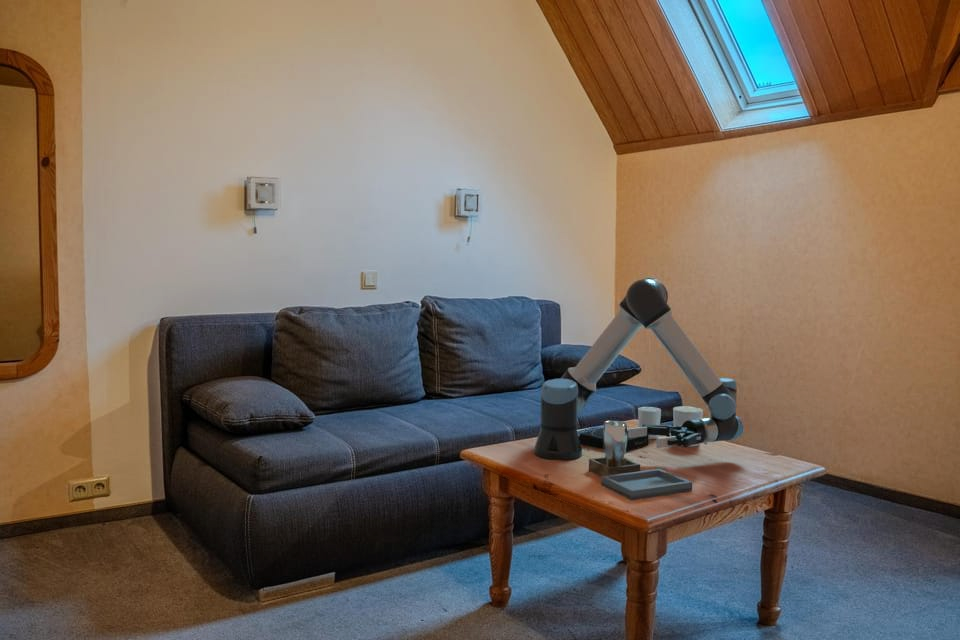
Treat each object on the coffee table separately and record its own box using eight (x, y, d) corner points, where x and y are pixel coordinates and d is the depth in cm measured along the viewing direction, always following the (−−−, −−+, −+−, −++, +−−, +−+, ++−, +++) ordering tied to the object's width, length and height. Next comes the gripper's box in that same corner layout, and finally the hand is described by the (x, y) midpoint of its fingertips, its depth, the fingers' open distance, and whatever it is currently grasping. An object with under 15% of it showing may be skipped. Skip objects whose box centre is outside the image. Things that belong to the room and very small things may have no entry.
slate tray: (601, 485, 206) (601, 476, 206) (659, 477, 215) (659, 468, 214) (631, 500, 194) (631, 491, 193) (691, 491, 202) (692, 482, 202)
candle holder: (706, 443, 255) (707, 409, 254) (693, 448, 247) (694, 413, 246) (680, 438, 261) (681, 405, 260) (666, 443, 254) (667, 409, 253)
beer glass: (597, 471, 219) (598, 421, 218) (616, 469, 222) (618, 419, 221) (611, 478, 213) (612, 426, 212) (631, 475, 216) (632, 424, 215)
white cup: (658, 434, 267) (659, 407, 266) (661, 439, 259) (662, 411, 258) (636, 433, 268) (637, 406, 267) (638, 439, 260) (639, 410, 259)
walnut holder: (588, 470, 220) (589, 459, 220) (618, 466, 225) (618, 455, 224) (609, 480, 211) (609, 468, 210) (639, 476, 215) (640, 464, 215)
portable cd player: (606, 437, 264) (607, 426, 264) (648, 446, 252) (648, 434, 252) (577, 444, 253) (578, 433, 252) (619, 454, 241) (620, 442, 240)
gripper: (727, 452, 219) (669, 460, 210) (671, 434, 241) (617, 441, 232) (728, 427, 218) (670, 434, 209) (672, 411, 241) (618, 417, 232)
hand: (642, 438), depth 221 cm, fingers open, 13 cm apart
